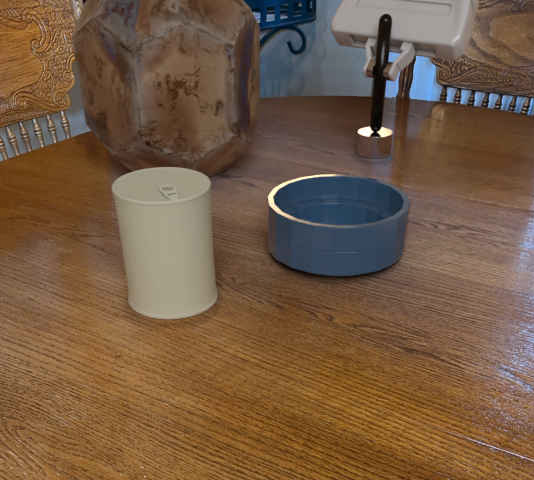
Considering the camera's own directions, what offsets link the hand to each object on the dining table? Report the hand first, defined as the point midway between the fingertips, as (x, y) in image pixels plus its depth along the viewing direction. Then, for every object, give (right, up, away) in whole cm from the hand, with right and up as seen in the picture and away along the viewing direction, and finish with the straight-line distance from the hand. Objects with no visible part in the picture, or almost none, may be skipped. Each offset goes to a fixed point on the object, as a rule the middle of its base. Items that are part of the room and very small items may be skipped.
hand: (378, 76), depth 98 cm
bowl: (-8, -30, -18) cm, 36 cm away
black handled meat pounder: (0, -7, +7) cm, 10 cm away
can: (-25, -38, -26) cm, 53 cm away
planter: (-28, -12, +3) cm, 31 cm away
